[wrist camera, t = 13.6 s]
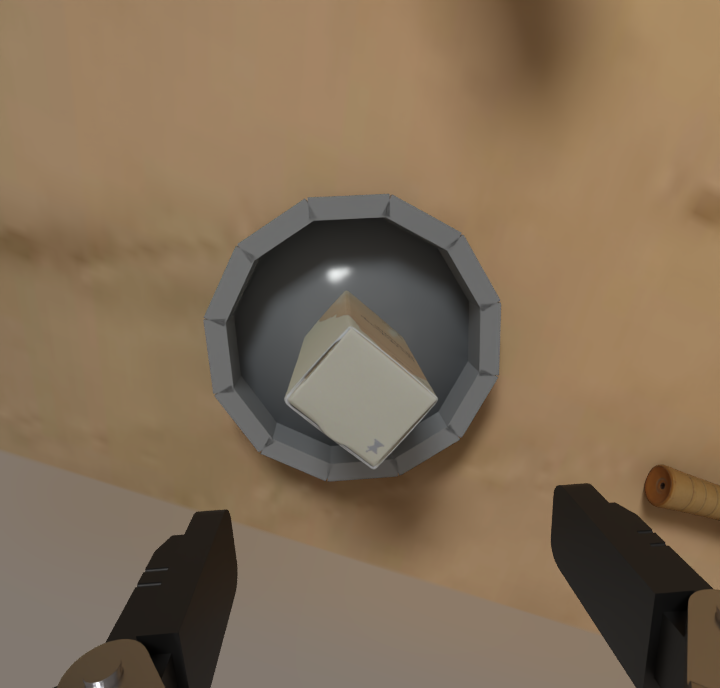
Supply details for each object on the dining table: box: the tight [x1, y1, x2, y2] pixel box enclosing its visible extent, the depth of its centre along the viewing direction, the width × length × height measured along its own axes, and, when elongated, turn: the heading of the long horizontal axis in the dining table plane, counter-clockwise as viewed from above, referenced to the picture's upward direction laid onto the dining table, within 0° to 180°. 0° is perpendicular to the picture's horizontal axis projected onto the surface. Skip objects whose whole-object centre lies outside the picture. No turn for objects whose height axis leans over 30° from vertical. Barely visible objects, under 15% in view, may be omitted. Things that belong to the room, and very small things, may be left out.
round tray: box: [204, 194, 501, 481], centre depth 29 cm, size 17×17×3 cm
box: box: [284, 291, 438, 469], centre depth 24 cm, size 5×4×11 cm
